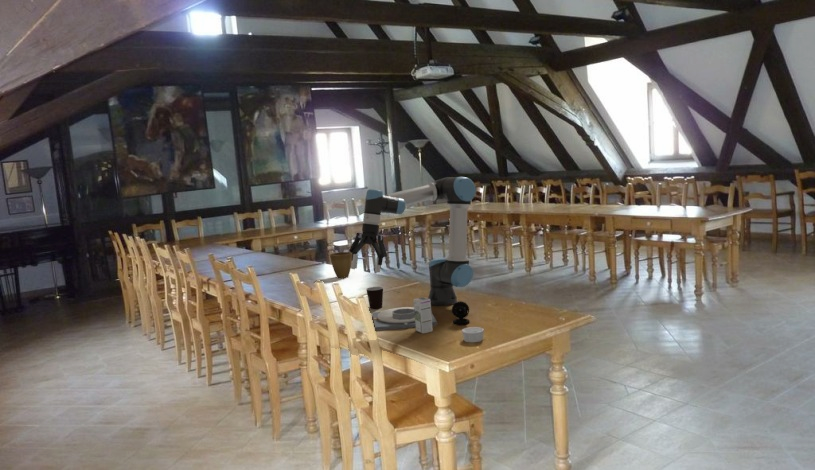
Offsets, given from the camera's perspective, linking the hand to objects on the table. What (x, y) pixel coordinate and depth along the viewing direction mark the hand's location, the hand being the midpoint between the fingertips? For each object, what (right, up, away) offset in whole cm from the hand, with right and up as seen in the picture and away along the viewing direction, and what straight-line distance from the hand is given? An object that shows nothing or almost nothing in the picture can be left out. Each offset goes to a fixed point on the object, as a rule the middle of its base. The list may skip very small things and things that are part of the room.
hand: (365, 270), depth 286 cm
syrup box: (+26, -26, -10) cm, 38 cm away
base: (+17, -24, +11) cm, 31 cm away
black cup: (+3, -21, +41) cm, 47 cm away
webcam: (+43, -24, -1) cm, 50 cm away
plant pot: (-24, -12, +132) cm, 135 cm away
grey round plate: (+17, -22, +11) cm, 30 cm away
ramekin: (+46, -27, -28) cm, 60 cm away
